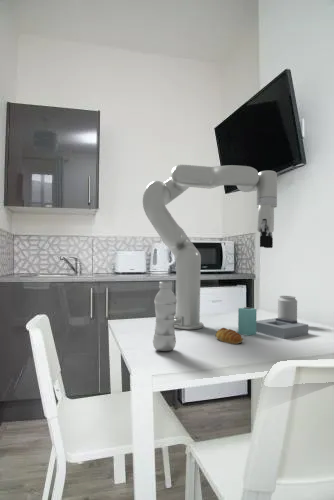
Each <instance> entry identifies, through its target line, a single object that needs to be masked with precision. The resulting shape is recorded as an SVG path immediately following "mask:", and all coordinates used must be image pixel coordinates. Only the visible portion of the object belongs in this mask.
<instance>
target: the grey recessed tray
mask: <svg viewBox="0 0 334 500" xmlns="http://www.w3.org/2000/svg"><path fill="white" fill-rule="evenodd" d="M256 333H259V334H264V335H267V336H271V337H276V338H279V339H284V340H286V339H290V338H291V339H292V338H296V337H301V336H305V335H306V336H307V335H309V324H306V323H303V322H298V319H297V320H292V319H286V318H278V317H274V318H268V319H260V320H256Z"/></svg>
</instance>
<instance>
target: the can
mask: <svg viewBox="0 0 334 500" xmlns="http://www.w3.org/2000/svg"><path fill="white" fill-rule="evenodd" d="M277 318H286V319H292V320H297V321H298V300H297V299H296V296H293V295H279V298H278V299H277Z"/></svg>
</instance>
